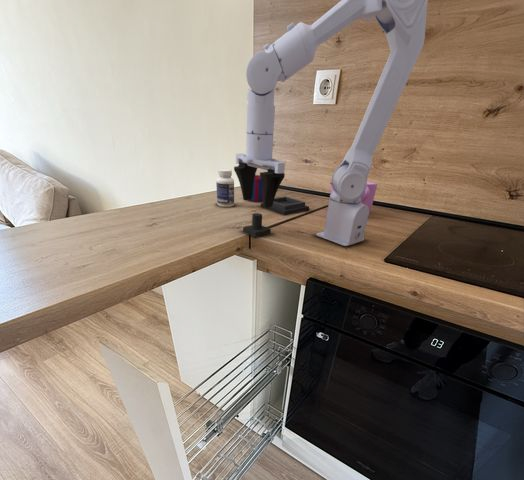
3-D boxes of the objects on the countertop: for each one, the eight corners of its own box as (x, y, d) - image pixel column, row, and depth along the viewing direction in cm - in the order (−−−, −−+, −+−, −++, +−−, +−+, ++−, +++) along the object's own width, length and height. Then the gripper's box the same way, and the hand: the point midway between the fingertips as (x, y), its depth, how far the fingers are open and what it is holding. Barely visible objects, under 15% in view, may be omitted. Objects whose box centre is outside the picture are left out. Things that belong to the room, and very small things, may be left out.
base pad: (309, 209, 97) (310, 202, 95) (284, 214, 91) (284, 207, 89) (285, 202, 103) (285, 195, 101) (260, 206, 97) (260, 199, 96)
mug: (242, 198, 104) (242, 175, 100) (265, 195, 109) (266, 173, 105) (253, 202, 100) (254, 179, 96) (276, 199, 105) (278, 177, 101)
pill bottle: (231, 208, 94) (231, 172, 88) (215, 206, 95) (213, 170, 89) (236, 203, 98) (236, 169, 92) (220, 202, 99) (219, 167, 93)
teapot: (336, 221, 88) (344, 181, 82) (309, 208, 98) (314, 172, 91) (382, 215, 95) (392, 179, 89) (352, 204, 105) (360, 170, 98)
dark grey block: (270, 233, 77) (271, 215, 74) (255, 237, 74) (256, 218, 71) (257, 228, 80) (258, 210, 77) (242, 231, 77) (242, 213, 74)
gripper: (224, 130, 66) (226, 198, 74) (268, 137, 58) (264, 212, 66) (249, 130, 70) (248, 195, 78) (294, 136, 61) (287, 208, 70)
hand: (257, 203), depth 72 cm, fingers open, 7 cm apart
